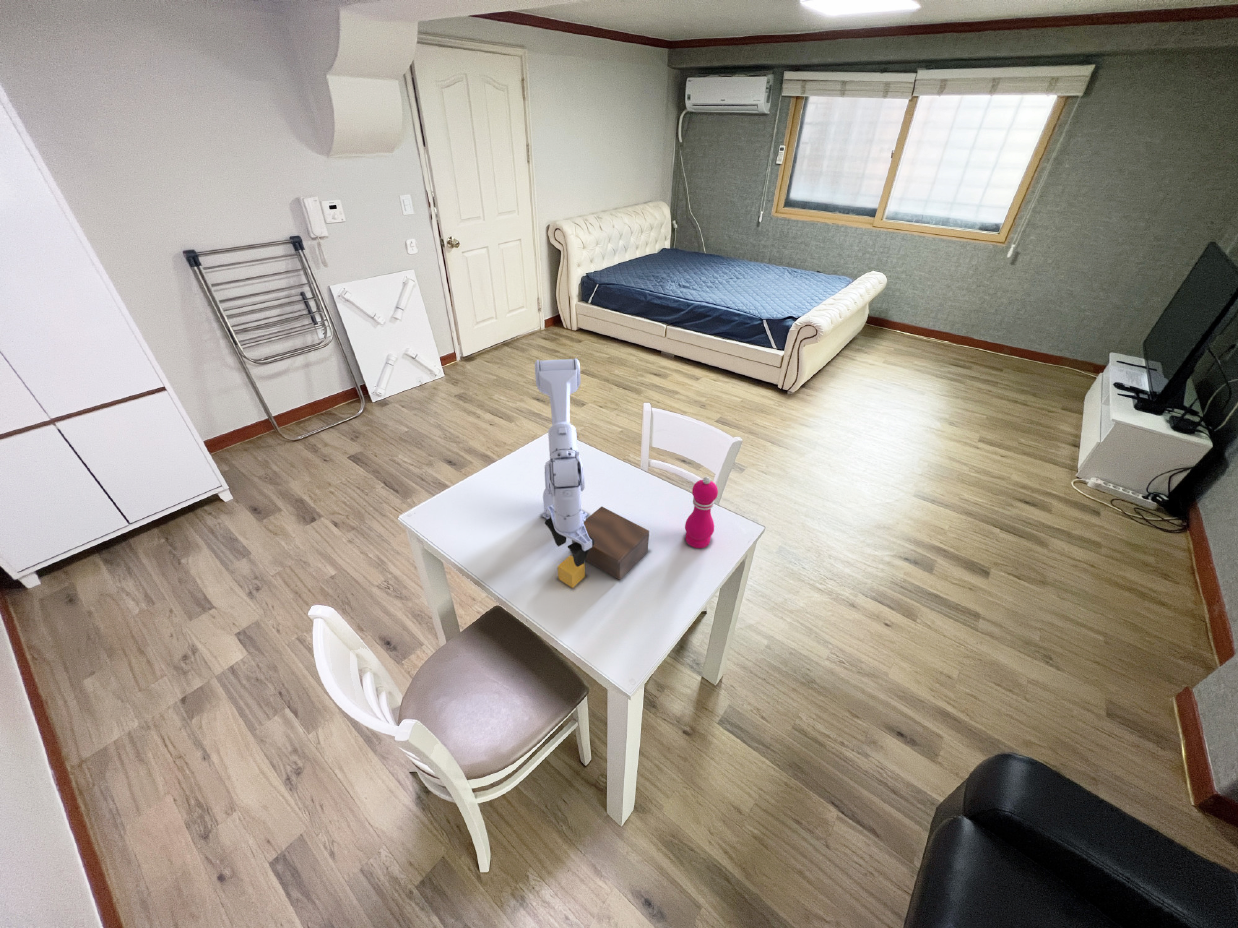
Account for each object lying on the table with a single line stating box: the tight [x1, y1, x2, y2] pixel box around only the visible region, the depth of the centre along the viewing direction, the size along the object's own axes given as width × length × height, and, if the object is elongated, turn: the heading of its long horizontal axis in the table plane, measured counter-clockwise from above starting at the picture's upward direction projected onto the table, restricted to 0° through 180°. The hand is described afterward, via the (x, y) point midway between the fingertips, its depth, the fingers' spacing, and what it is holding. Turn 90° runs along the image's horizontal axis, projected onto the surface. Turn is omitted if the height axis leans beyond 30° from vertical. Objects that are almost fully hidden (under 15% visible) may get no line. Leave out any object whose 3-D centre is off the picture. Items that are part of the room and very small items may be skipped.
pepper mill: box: [684, 476, 719, 549], centre depth 119 cm, size 7×7×20 cm
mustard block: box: [557, 554, 586, 589], centre depth 112 cm, size 4×4×4 cm
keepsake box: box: [571, 533, 650, 581], centre depth 119 cm, size 12×15×6 cm
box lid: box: [583, 506, 650, 563], centre depth 116 cm, size 12×15×1 cm
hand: (570, 553), depth 109 cm, fingers open, 7 cm apart
